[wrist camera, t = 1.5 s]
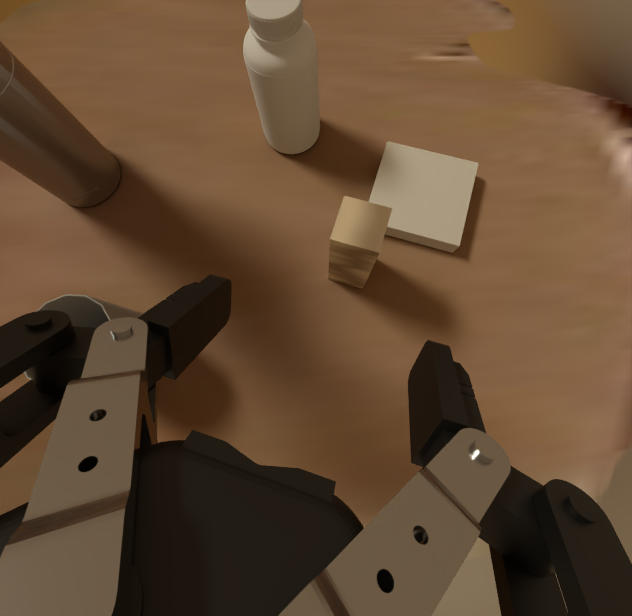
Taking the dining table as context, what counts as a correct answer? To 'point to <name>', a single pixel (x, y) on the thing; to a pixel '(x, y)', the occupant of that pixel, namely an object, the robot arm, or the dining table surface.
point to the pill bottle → (283, 73)
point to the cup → (87, 311)
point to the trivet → (424, 195)
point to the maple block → (356, 240)
